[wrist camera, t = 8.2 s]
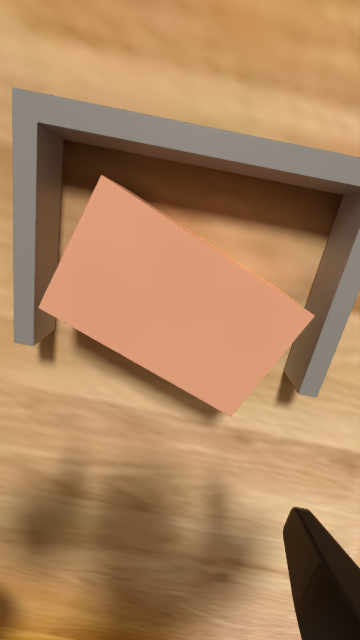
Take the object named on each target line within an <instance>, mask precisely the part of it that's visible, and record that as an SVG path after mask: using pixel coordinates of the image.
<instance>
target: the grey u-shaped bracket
mask: <svg viewBox="0 0 360 640" xmlns="http://www.w3.org/2000/svg"><path fill="white" fill-rule="evenodd" d="M12 125H13V279H14V343H19V344H24V345H30V346H34V345H35V344H37V343H38V342H39V341H41V340H42V339H43V338H44V337H46V336H47V335H48V334H50V333H51V332H52V331H54V330H55V323H56V317H54V316H52V315H50V314H49V313H47V312H45V311H43V310H41V309H40V308H38V307H39V305H40V303H41V301H42V299H43V297H44V294H45V292H46V290H47V288H48V286H49V284H50V282H51V280H52V278H53V275H54V273H55V271H56V269H57V267H58V255H59V232H60V209H61V186H62V164H63V141H64V140H69V141H74V142H79V143H84V144H89V145H94V146H99V147H104V148H109V149H114V150H119V151H124V152H129V153H134V154H139V155H144V156H149V157H154V158H159V159H164V160H169V161H175V162H180V163H185V164H190V165H195V166H200V167H205V168H210V169H215V170H220V171H225V172H230V173H235V174H240V175H245V176H250V177H255V178H260V179H265V180H270V181H275V182H280V183H285V184H290V185H295V186H300V187H306V188H311V189H316V190H321V191H326V192H331V193H336V194H341V195H343V198H342V201H341V203H340V206H339V209H338V212H337V215H336V218H335V221H334V224H333V227H332V230H331V233H330V236H329V239H328V242H327V245H326V248H325V251H324V254H323V257H322V260H321V262H320V265H319V268H318V271H317V274H316V277H315V280H314V283H313V286H312V289H311V292H310V295H309V298H308V301H307V304H306V307H305V309H307V310H308V311H309V312H311V313H312V314H313V315H315V316H314V318H313V319H312V320H311V321H310V322H309V324H308V325H307V326H306V327H305V328H304V330H303V331H302V332H301V333H300V334H299V336H298V337H297V338H296V339H295V340H294V342H293V345H292V348H291V351H290V354H289V357H288V360H287V363H286V366H285V369H284V372H285V374H286V375H287V377H288V378H289V380H290V382H291V383H292V385H293V386H294V388H295V389H296V391H297V393H298V394H301V395H306V396H312V397H317V396H318V393H319V391H320V388H321V386H322V383H323V381H324V378H325V376H326V373H327V371H328V368H329V366H330V363H331V360H332V358H333V355H334V353H335V350H336V348H337V345H338V343H339V340H340V338H341V335H342V333H343V330H344V328H345V325H346V322H347V320H348V317H349V315H350V312H351V310H352V307H353V305H354V302H355V300H356V297H357V295H358V292H359V290H360V157H355V156H350V155H345V154H340V153H335V152H330V151H325V150H320V149H315V148H310V147H305V146H300V145H295V144H290V143H286V142H281V141H276V140H271V139H266V138H261V137H256V136H251V135H246V134H241V133H236V132H231V131H226V130H221V129H216V128H211V127H206V126H201V125H196V124H191V123H186V122H182V121H177V120H172V119H167V118H162V117H157V116H152V115H147V114H142V113H137V112H132V111H127V110H122V109H117V108H112V107H107V106H102V105H97V104H92V103H87V102H82V101H78V100H73V99H68V98H63V97H58V96H53V95H48V94H43V93H38V92H33V91H28V90H23V89H18V88H13V87H12Z"/></svg>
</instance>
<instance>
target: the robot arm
mask: <svg viewBox="0 0 360 640" xmlns="http://www.w3.org/2000/svg"><path fill="white" fill-rule="evenodd" d="M283 539H284V545H285V552H286V558H287V564H288V571H289V577H290V583H291V590H292V596H293V602H294V607H295V612H296V617H297V621H298V625H299V629H300V634H301V638H302V640H360V568H359V567H358V566H357V565H356V563H355V562H354V561H353V560H352V559H351V558H350V556H349V555H348V554H347V553H346V552H345V551H344V549H343V548H342V547H341V546H340V545H339V544H338V543H337V541H336V540H335V539H334V538H333V537H332V536H331V534H330V533H329V532H328V531H327V530H326V529H325V528H324V526H323V525H322V524H321V523H320V522H319V521H318V519H317V518H316V517H315V516H314V515H313V514H312V513H311V512H310V511H309V510H308V509H304V508H299V507H293V508H292V509H291V511H290V513H289V516H288V518H287V521H286V523H285V525H284V529H283Z"/></svg>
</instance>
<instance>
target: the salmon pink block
mask: <svg viewBox="0 0 360 640" xmlns="http://www.w3.org/2000/svg"><path fill="white" fill-rule="evenodd" d="M38 308H40V309H41V310H43V311H45V312H47V313H49V314H50V315H52V316H54V317H56V318H57V319H59V320H61V321H63V322H64V323H66V324H68V325H70V326H71V327H73V328H75V329H77V330H79V331H80V332H82V333H84V334H86V335H87V336H89V337H91V338H93V339H94V340H96V341H98V342H100V343H101V344H103V345H105V346H107V347H109V348H110V349H112V350H114V351H116V352H117V353H119V354H121V355H123V356H124V357H126V358H128V359H130V360H131V361H133V362H135V363H137V364H139V365H140V366H142V367H144V368H146V369H147V370H149V371H151V372H153V373H154V374H156V375H158V376H160V377H161V378H163V379H165V380H167V381H169V382H170V383H172V384H174V385H176V386H177V387H179V388H181V389H183V390H184V391H186V392H188V393H190V394H191V395H193V396H195V397H197V398H199V399H200V400H202V401H204V402H206V403H207V404H209V405H211V406H213V407H214V408H216V409H218V410H220V411H221V412H223V413H225V414H227V415H229V416H230V417H231V416H232V415H233V414H234V412H235V411H236V410H237V409H238V408H239V406H240V405H241V404H242V403H243V402H244V400H245V399H246V398H247V397H248V396H249V394H250V393H251V392H252V391H253V390H254V388H255V387H256V386H257V385H258V384H259V382H260V381H261V380H262V379H263V378H264V376H265V375H266V374H267V373H268V372H269V370H270V369H271V368H272V367H273V366H274V364H275V363H276V362H277V361H278V360H279V358H280V357H281V356H282V355H283V354H284V352H285V351H286V350H287V349H288V348H289V346H290V345H291V344H292V343H293V342H294V340H295V339H296V338H297V337H298V336H299V334H300V333H301V332H302V331H303V330H304V328H305V327H306V326H307V325H308V324H309V322H310V321H311V320H312V319H313V318H314V316H315V315H313V314H312V313H311V312H309V311H308V310H307V309H305V308H304V307H303V306H301V305H300V304H299V303H297V302H296V301H295V300H293V299H292V298H291V297H289V296H288V295H287V294H285V293H284V292H283V291H281V290H279V289H278V288H276V287H275V286H273V285H272V284H270V283H269V282H267V281H266V280H264V279H263V278H261V277H260V276H258V275H257V274H255V273H254V272H252V271H251V270H249V269H248V268H246V267H245V266H243V265H242V264H240V263H239V262H237V261H236V260H234V259H233V258H231V257H230V256H228V255H226V254H225V253H223V252H222V251H220V250H219V249H217V248H216V247H214V246H213V245H211V244H210V243H208V242H207V241H205V240H204V239H202V238H201V237H199V236H198V235H196V234H195V233H193V232H192V231H190V230H189V229H187V228H186V227H184V226H183V225H181V224H180V223H178V222H176V221H175V220H173V219H172V218H170V217H169V216H167V215H166V214H164V213H163V212H161V211H160V210H158V209H157V208H155V207H154V206H152V205H151V204H149V203H148V202H146V201H145V200H143V199H142V198H140V197H139V196H137V195H136V194H134V193H133V192H131V191H130V190H128V189H126V188H125V187H123V186H121V185H119V184H117V183H115V182H113V181H112V180H110V179H108V178H106V177H104V176H102V175H101V177H100V179H99V181H98V183H97V185H96V187H95V189H94V191H93V193H92V196H91V198H90V200H89V202H88V204H87V206H86V208H85V210H84V212H83V214H82V217H81V219H80V221H79V223H78V225H77V227H76V229H75V231H74V233H73V236H72V238H71V240H70V242H69V244H68V246H67V248H66V250H65V252H64V254H63V257H62V259H61V261H60V263H59V265H58V267H57V269H56V271H55V273H54V275H53V278H52V280H51V282H50V284H49V286H48V288H47V290H46V292H45V294H44V297H43V299H42V301H41V303H40V305H39V307H38Z"/></svg>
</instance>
